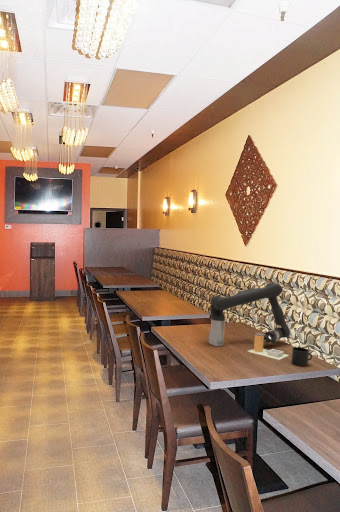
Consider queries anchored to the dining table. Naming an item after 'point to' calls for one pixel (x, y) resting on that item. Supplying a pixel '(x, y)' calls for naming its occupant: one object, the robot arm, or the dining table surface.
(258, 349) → the orange cylinder
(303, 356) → the mug
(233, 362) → the dining table surface
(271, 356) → the pale green base plate
